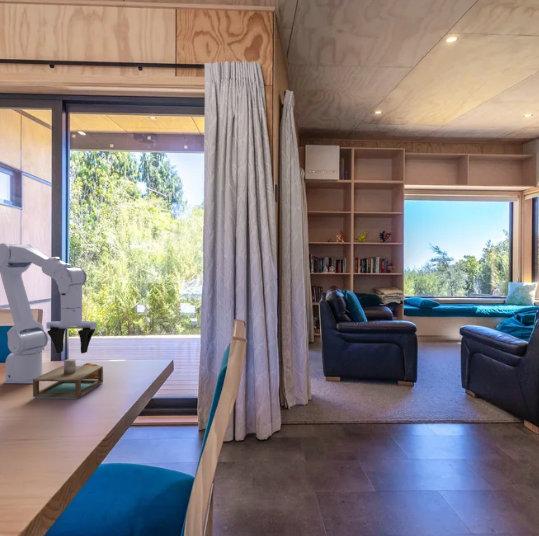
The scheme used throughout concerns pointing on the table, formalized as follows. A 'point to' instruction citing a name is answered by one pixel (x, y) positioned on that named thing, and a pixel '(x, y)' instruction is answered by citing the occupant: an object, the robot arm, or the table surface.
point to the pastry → (94, 375)
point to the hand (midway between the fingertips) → (71, 352)
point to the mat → (66, 390)
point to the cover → (68, 379)
